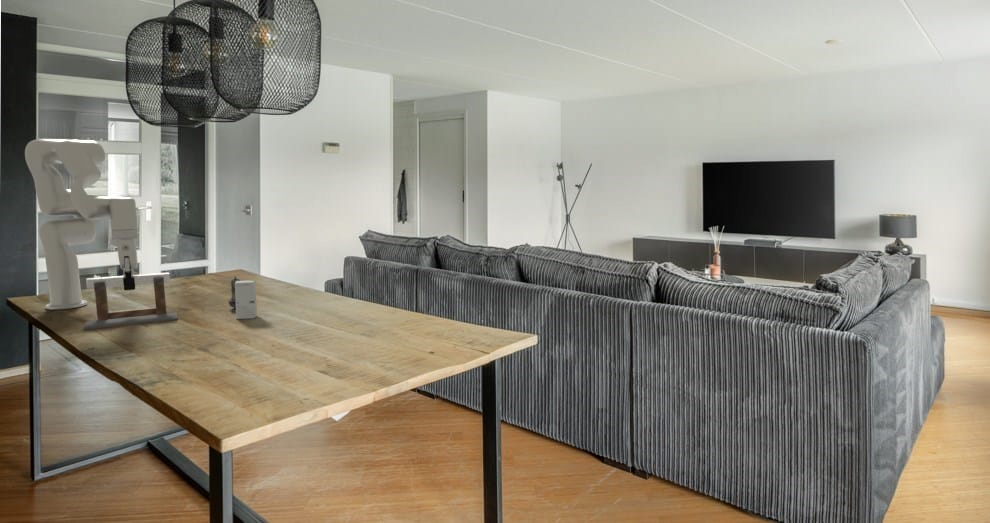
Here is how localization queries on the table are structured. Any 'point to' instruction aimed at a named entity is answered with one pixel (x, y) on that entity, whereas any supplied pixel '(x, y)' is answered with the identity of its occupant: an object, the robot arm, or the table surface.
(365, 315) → the table surface
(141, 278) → the rail
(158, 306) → the rack
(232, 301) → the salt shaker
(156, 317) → the mat
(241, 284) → the skincare box
